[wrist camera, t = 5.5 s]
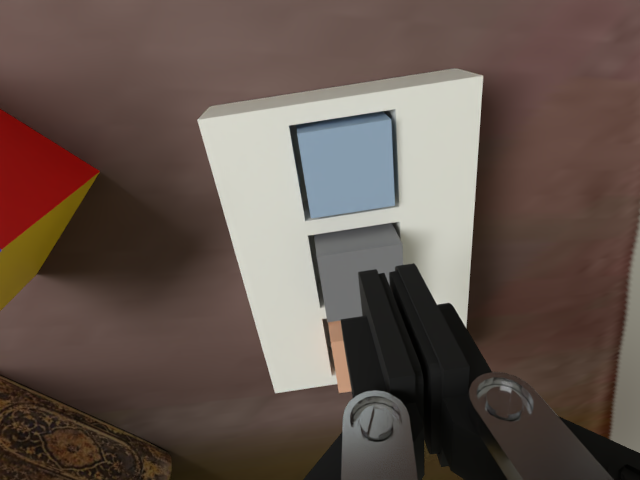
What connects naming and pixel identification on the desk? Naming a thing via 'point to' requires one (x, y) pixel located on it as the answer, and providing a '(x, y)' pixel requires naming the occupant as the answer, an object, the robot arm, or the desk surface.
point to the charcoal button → (353, 264)
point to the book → (68, 443)
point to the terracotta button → (339, 356)
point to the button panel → (299, 228)
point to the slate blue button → (347, 163)
